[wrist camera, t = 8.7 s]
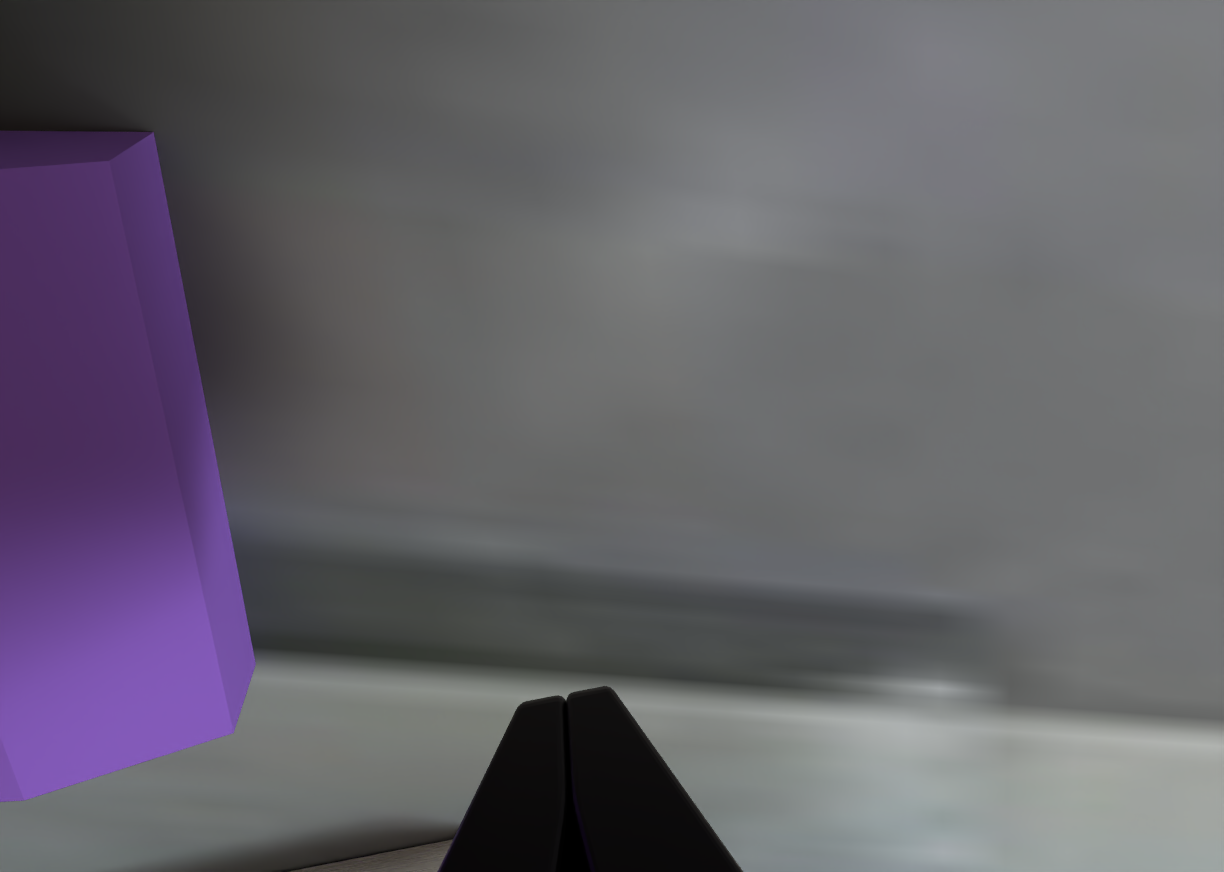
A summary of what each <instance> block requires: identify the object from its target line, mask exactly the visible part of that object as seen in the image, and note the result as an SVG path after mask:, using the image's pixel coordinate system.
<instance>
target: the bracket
mask: <svg viewBox="0 0 1224 872" xmlns="http://www.w3.org/2000/svg"><path fill="white" fill-rule="evenodd" d="M255 665H256V664H255V659H254V654H253V648H252V643H251V638H250V633H249V627H248V622H247V617H246V612H245V607H244V601H243V596H242V591H241V586H240V580H239V575H238V570H237V565H236V560H235V554H234V549H233V544H232V539H231V533H230V528H229V523H228V518H227V513H226V507H225V502H224V497H223V492H222V486H221V481H220V476H219V471H218V466H217V460H216V455H215V450H214V445H213V439H212V434H211V429H210V424H209V419H208V413H207V408H206V403H205V398H204V392H203V387H202V382H201V377H200V372H199V366H198V361H197V356H196V351H195V345H194V340H193V335H192V330H191V325H190V319H189V314H188V309H187V304H186V298H185V293H184V288H183V283H182V278H181V272H180V267H179V262H178V257H177V251H176V246H175V241H174V236H173V231H172V225H171V220H170V215H169V210H168V204H167V199H166V194H165V189H164V184H163V178H162V173H161V168H160V163H159V157H158V152H157V147H156V142H155V137H154V132H88V131H0V802H5V801H22V800H27V799H30V798H33V797H36V796H39V795H43V794H46V793H49V792H52V791H55V790H58V789H61V788H64V787H67V786H70V785H74V784H77V783H80V782H83V781H86V780H89V779H92V778H95V777H98V776H102V775H105V774H108V773H111V772H114V771H117V770H120V769H123V768H126V767H129V766H133V765H136V764H139V763H142V762H145V761H148V760H151V759H154V758H157V757H160V756H164V755H167V754H170V753H173V752H176V751H179V750H182V749H185V748H188V747H191V746H195V745H198V744H201V743H204V742H207V741H210V740H213V739H216V738H219V737H222V736H226V735H229V734H232V733H234V730H235V727H236V724H237V721H238V718H239V714H240V711H241V708H242V705H243V702H244V699H245V696H246V693H247V690H248V687H249V683H250V680H251V677H252V674H253V671H254V668H255Z"/></svg>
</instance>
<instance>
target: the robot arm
mask: <svg viewBox="0 0 1224 872" xmlns="http://www.w3.org/2000/svg"><path fill="white" fill-rule="evenodd" d="M438 872H743V871H742V870H741V868H740V867H739V865H738V864H737V863H736V861H735V860H734V858H733V857H732V856H731V854H730V853H729V851H728V850H727V848H726V847H725V846H724V844H723V843H722V841H721V840H720V839H719V837H718V836H717V834H716V833H715V832H714V830H713V829H712V827H711V826H710V825H709V823H708V822H707V820H706V819H705V818H704V816H703V815H702V813H701V812H700V811H699V809H698V808H697V806H696V805H695V804H694V802H693V801H692V799H691V798H690V797H689V795H688V794H687V792H686V791H685V790H684V788H683V787H682V785H681V784H680V783H679V781H678V780H677V778H676V777H675V775H674V774H673V773H672V771H671V770H670V768H669V767H668V766H667V764H666V763H665V761H664V760H663V759H662V757H661V756H660V754H659V753H658V752H657V750H656V749H655V747H654V746H653V745H652V743H651V742H650V740H649V739H648V738H647V736H646V735H645V733H644V732H643V731H642V729H641V728H640V726H639V725H638V724H637V722H636V721H635V719H634V718H633V717H632V715H631V714H630V712H629V711H628V710H627V708H626V707H625V705H624V704H623V702H622V701H621V700H620V698H619V697H618V695H617V694H616V693H615V691H614V690H613V689H611V688H610V687H607V686H603V687H598V688H592V689H587V690H582V691H577V692H573V693H571V694H569V695H568V697H567V700H565V699H564V698H563V697H561V696H551V697H546V698H541V699H536V700H531V701H526V702H523V703H522V704H520V705H519V706H518V708H517V709H516V711H515V713H514V715H513V717H512V719H511V722H510V724H509V726H508V728H507V730H506V732H505V734H504V736H503V738H502V740H501V742H500V744H499V746H498V748H497V750H496V752H495V754H494V757H493V759H492V761H491V763H490V765H489V767H488V769H487V771H486V773H485V775H484V777H483V779H482V781H481V783H480V785H479V787H478V789H477V791H476V794H475V796H474V798H473V800H472V802H471V804H470V806H469V808H468V810H467V812H466V814H465V816H464V818H463V820H462V822H461V824H460V826H459V829H458V831H457V833H456V835H455V837H454V839H453V841H452V843H451V845H450V847H449V849H448V851H447V853H446V855H445V857H444V859H443V861H442V863H441V866H440V868H439V870H438Z"/></svg>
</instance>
